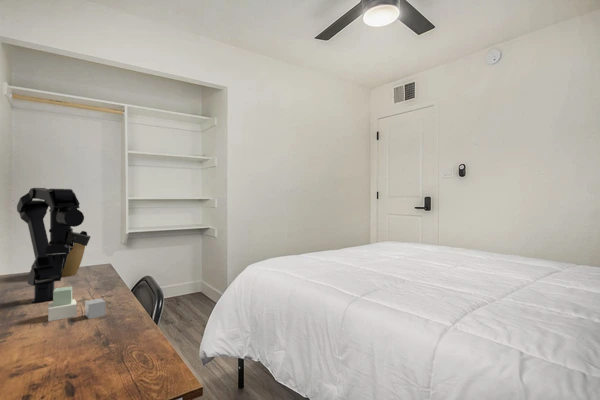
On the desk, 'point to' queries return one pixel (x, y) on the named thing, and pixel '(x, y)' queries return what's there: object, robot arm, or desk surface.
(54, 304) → the sage cube
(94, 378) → the desk surface
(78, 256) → the plant pot
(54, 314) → the cream block
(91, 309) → the grey cube
